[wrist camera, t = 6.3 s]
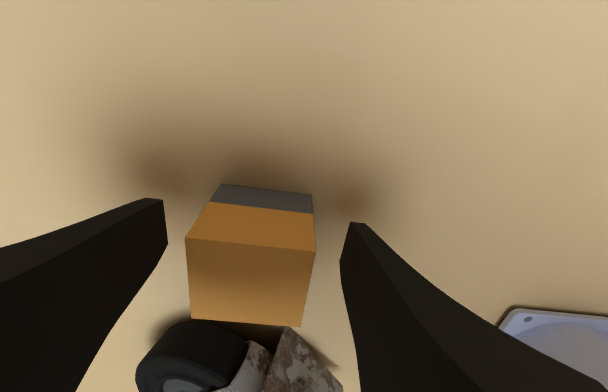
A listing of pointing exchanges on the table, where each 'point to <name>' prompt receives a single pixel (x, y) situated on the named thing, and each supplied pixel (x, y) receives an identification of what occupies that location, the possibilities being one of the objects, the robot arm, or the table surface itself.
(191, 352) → the caster wheel
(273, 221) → the block
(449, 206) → the table surface
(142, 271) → the robot arm
